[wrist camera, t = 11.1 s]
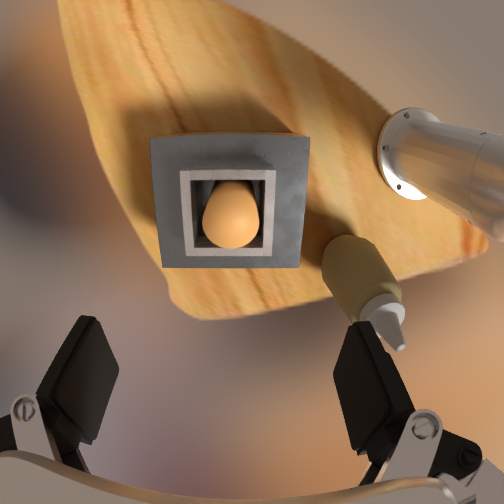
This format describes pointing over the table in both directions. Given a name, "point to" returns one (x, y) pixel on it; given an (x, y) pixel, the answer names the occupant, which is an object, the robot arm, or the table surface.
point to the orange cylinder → (231, 214)
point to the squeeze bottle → (364, 286)
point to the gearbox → (230, 168)
